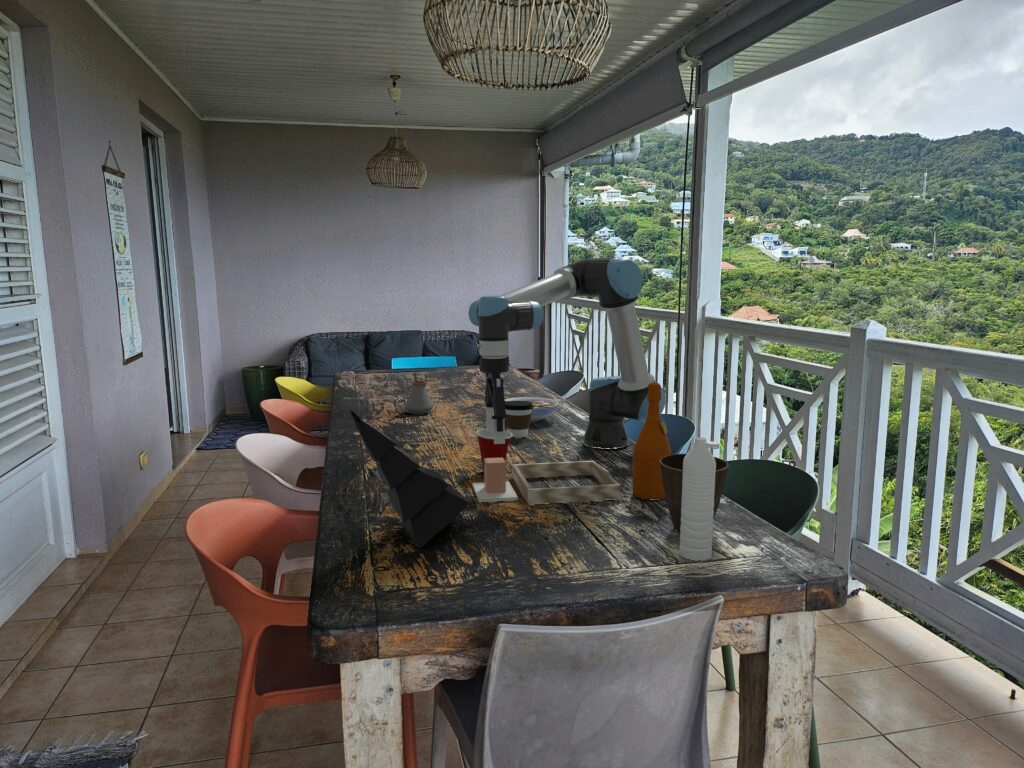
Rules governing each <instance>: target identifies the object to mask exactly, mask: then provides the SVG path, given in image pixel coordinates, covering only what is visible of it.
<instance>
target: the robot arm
mask: <svg viewBox="0 0 1024 768" xmlns="http://www.w3.org/2000/svg"><path fill="white" fill-rule="evenodd" d="M643 284H644V276H643V272H642V270H641V267H640V266H639V264H638V263H636V261H634V260H633V259H631V258H628V257H620V256H618V257H617V256H616V257H597V258H596V257H590V258H585V259H581V260H580V259H579V260H578V261H575V262H573V263H570V264H568V265H565V266H562V267H559V268H558V269H556V270H554V271H553V273H552V274H551V275H548V276H546V277H544V278H540V279H539V280H536V281H532V282H530V283H529V284H526V285H523V286H521V287H518V288H515V289H513V290H510V291H508V292H505V293H502V294H500V295H482V296H480V297H479V299H476V300H474V301H473V302H472V303H470V304H469V308H468V318H469V319H468V320H469V321H470V323H471V324H472V325H473V326H476V327H478V342H479V343H477V344H476V348H478V349H479V356H480V358H479V360H478V361H479V371H480V372H481V373H484V374H485V393H484V403H485V407H486V408H485V415H486V416H485V419H486V420H485V421H486V422H485V423H486V428H485V429H486V431H487V432H488V431H494V444H505V431H506V429H505V428H506V427H505V426H506V410H505V390H504V382H505V381H504V378H502V377H501V374H502V373H503V374H504V373H507V372H508V371H509V370H510V367H509V365H510V364H509V363H510V361H509V360H510V359H509V357H508V355H509V354H510V352H509V351H510V348H509V347H510V343H509V333H510V332H518V331H531V330H535V329H537V328H540V327H541V325H543V321H544V309H543V307H544V306H547V305H549V304H551V303H554V302H557V301H559V300H560V299H564V300H569V299H572V298H576V297H591V298H592V297H595V298H596V297H597V298H598V303H599V306H600V308H602V309H603V310H605V312H606V315H607V319H608V323H609V328H610V329H609V330H610V334H611V337H612V341H613V346H614V351H615V357H616V360H617V365H618V369H619V374H620V375H617V376H616V375H615V376H602V377H595V378H593V379H591V380H590V382H589V390H588V424H587V426H586V429H585V432H584V435H583V441H582V442H583V443H584V444H586V445H588V446H593V447H601V448H614V447H622V446H625V445H627V444H628V445H629V437H628V436H629V435H628V433H627V429H626V425H625V421H624V420H625V419H631V420H634V421H639V422H642V423H643V422H645V421H646V418H647V413H648V405H649V401H648V399H647V396H648V384H649V383H656V379H655V376H654V375H653V374H651V373H649V369H648V365H647V360H646V355H645V350H644V345H643V340H642V336H641V331H640V326H639V325H640V324H639V321H638V316H637V310H636V305H635V304H636V302H637V301H638V299H639V295H640V293H641V292H642V289H643ZM666 402H667V393H666V391H665V388H663V387H662V386H661V400H660V401H659V414H660V416H661V415H662V414H663V413H664V409H665V407H666V404H667V403H666ZM584 444H583V445H584Z"/></svg>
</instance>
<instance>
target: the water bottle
mask: <svg viewBox="0 0 1024 768" xmlns="http://www.w3.org/2000/svg"><path fill="white" fill-rule="evenodd" d="M710 449H711V450H717V449H720V442H718V441H710V440H709V441H707V438H705V437H700V436H698V437H694V441H693V445H692V447H691V448H690V449H689V450H688V452H687V453H685V454H686V456H685V458H684V460H683V481H682V483H683V484H682V500H681V505H682V507H681V526H680V532H681V533H679V548H678V549H679V551H678V552H679V555H681V556H682V558H683V557H684V558H686V559H685V560H687V559H690V561H691V560H696V561H695V562H703V561H702V560H706V561H708V560H707V559H709V558H710V559H712V554H713V534H714V533H713V532H714V528H713V527H714V526H713V525H714V519H713V516H714V510H713V508H714V492H715V491H714V489H715V472H716V461H715V459H714V457H715V456H713V454H712V451H711V450H710ZM681 556H680V557H681ZM684 558H683V559H684ZM710 559H709V560H710ZM699 560H700V561H699Z"/></svg>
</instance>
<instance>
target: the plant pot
mask: <svg viewBox="0 0 1024 768" xmlns="http://www.w3.org/2000/svg"><path fill="white" fill-rule="evenodd" d="M686 454H687V453H673V454H671V455H668V456H665V457H662V458H661V459H660V468H661V477H662V483H663V489H664V494H665V499H664V500H665V502H666V506H667V511H668V513H669V517H670V519H671V522H672V526H673V528H674V530H675V529H676V530H677V531H679V532H680V526H681V507H682V505H681V500H682V484H683V483H682V481H683V460H684V458H685V456H686ZM713 457H714V459H715V461H716V472H715V489H714V491H715V492H714V508H713V510H714V516H713V520H714V518H715V516H716V514H717V511H718V508H719V505H720V503H721V499H722V497H723V492H724V489H725V485H726V480H727V477H728V476H727V475H728V471H729V463H728V462H727V460H725V459H724V458H723V459H722V458H719V457H716V456H713ZM676 530H675V531H676ZM677 531H676V532H677ZM679 532H678V533H679Z"/></svg>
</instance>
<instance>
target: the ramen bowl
mask: <svg viewBox="0 0 1024 768" xmlns="http://www.w3.org/2000/svg"><path fill="white" fill-rule="evenodd" d="M504 399H505V398H504ZM508 401H529V402H531V403H532V404H533V406H534V408H533V409H532V411H531V413H532V414H531V420H530V422H532V423H537V422H539V421H540V420H544V419H546V418H548V417H549V416H552V414H553V413H554V412H555V410H556V409H557V407H558V405H559V401H558V400H555V399H552V398H546V397H536V396H534V397H531V396H530V397H529V396H526V397H511V398H507V399H505V402H508ZM536 421H537V422H536Z"/></svg>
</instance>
